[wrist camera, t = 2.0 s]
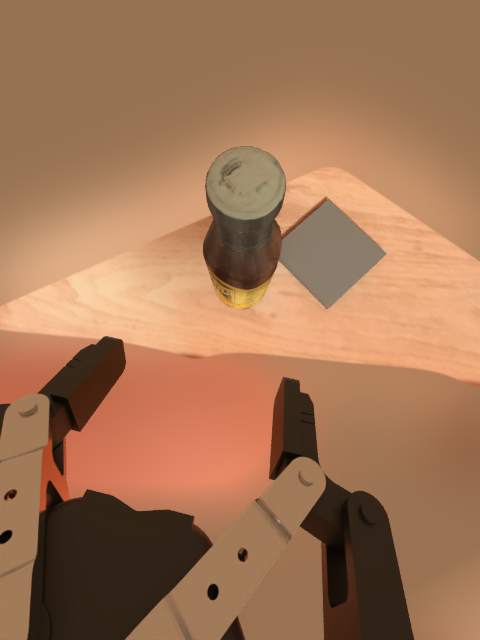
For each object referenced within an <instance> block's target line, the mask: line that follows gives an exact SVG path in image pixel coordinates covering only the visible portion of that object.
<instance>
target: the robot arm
mask: <svg viewBox="0 0 480 640" xmlns="http://www.w3.org/2000/svg"><path fill="white" fill-rule="evenodd" d="M125 365H126V359H125V352H124V346H123V341H122V340H121V339H117V338H112V337H108V336H105V337H103V338H102V339H101V340H100V341H99V342H98V343H97V344H96V345H93V344H91V345H89V346H88V347H86V348H84V349H82V350H80V351H79V352H78V353H77V354H76V355H75V356H74V357H73V359H72V360H70V361H69V362H68V363H67V364H66V367H63V368H62V369H61V370H60V372H58V373H57V374H56V375H55V376H54V377H53V378H52V379H51V380H50V381H49V382H48V383H47V384H46V385H45V386H44V387H43V389H41V390H40V391H39V392H38V393H37V394H30V395H26V396H24V397H21V398H19V399H18V400H16V401H14V402H13V403H12V404H0V640H245V637H244V634H243V631H242V628H241V625H240V622H239V619H238V614H239V612H240V611H241V609H242V608H243V607H244V605H245V603H246V602H247V601H248V599H249V598H250V597H251V595H252V594H253V592H254V591H255V590H256V588H257V587H258V585H259V584H260V582H261V581H262V580H263V578H264V577H265V575H266V574H267V572H268V571H269V569H270V568H271V567H272V565H273V564H274V563H275V561H276V560H277V558H278V557H279V555H280V554H281V552H282V551H283V549H284V548H285V547H286V545H287V544H288V542H289V541H290V539H291V537H292V536H293V534H294V533H295V531H296V530H297V529H298V527H299V526H300V527H302V528H303V529H304V530H306V531H307V532H309V533H310V534H312V535H313V536H314V537H316V538H317V539H319V540H320V541H321V549H322V584H323V615H324V616H323V618H324V640H414V637H413V633H412V628H411V623H410V618H409V614H408V609H407V604H406V599H405V595H404V590H403V585H402V580H401V576H400V571H399V566H398V562H397V557H396V552H395V548H394V542H393V538H392V533H391V528H390V523H389V519H388V516H387V513H386V511H385V510H384V507H383V506H382V505H381V503H380V502H379V501H378V500H377V499H376V498H375V497H374V496H372V495H371V494H369V493H367V492H364V491H356V492H354V493H350V492H349V491H347V490H345V489H344V488H342V487H340V486H339V485H337V484H335V483H334V482H332V481H331V480H330V479H329V478H328V477H327V476H326V475H325V473H324V472H323V470H322V469H321V467H320V464H319V461H318V453H317V441H316V430H315V419H314V418H315V417H314V406H313V403H312V401H311V399H310V397H309V395H308V394H305V393H301V392H300V383H299V380H295V379H290V378H286V377H283V379H282V381H281V384H280V387H279V389H278V392H277V395H276V398H275V402H274V409H273V426H272V440H271V456H270V457H271V458H270V472H269V479H272V480H275V481H274V482H273V483H272V484H271V485H270V486H269V488H268V489H267V490H266V491H265V492H264V493H263V494H262V495H261V496H260V498H258V499H256V500H254V501H253V502H252V503H251V504H250V505H249V506H248V507H247V509H246V510H245V511H244V512H243V513H242V514H241V515H240V516H239V517H238V518H237V520H236V521H235V522H234V523H233V524H232V525H231V526H230V527H229V528H228V529H227V531H226V532H225V533H224V534H223V535H222V536H221V537H220V538H219V540H217V542H216V543H215V544H214V545H213V544H212V542H211V540H210V539H209V537H208V536H207V535H206V534H205V532H204V531H202V530H201V529H200V528H199V527H198V526H196V525H195V524H193V523H194V516H190V515H187V514H183V513H179V512H175V511H171V510H153V511H135V510H133V509H132V508H131V507H129V506H128V505H126V504H125V503H123V502H122V501H120V500H119V499H117V498H115V497H114V496H111V495H108V494H104V493H100V492H96V491H92V490H88V489H87V491H86V492H85V494H84V496H83V497H79V498H74V499H70V493H69V488H68V483H67V456H66V435H67V434H68V432H69V431H70V430H75V431H79V432H80V431H81V430H82V429H83V427H84V426H85V424H86V423H87V422H88V420H89V419H90V417H91V416H92V415H93V413H94V412H95V411H96V409H97V408H98V406H99V405H100V404H101V402H102V401H103V400H104V398H105V397H106V395H107V394H108V393H109V391H110V390H111V388H112V387H113V386H114V384H115V383H116V381H117V380H118V379H119V377H120V376H121V375H122V373H123V371H124V369H125Z"/></svg>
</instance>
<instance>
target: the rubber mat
mask: <svg viewBox="0 0 480 640" xmlns="http://www.w3.org/2000/svg"><path fill="white" fill-rule="evenodd" d="M386 254H387V253H385V252H384V251H383V250H382V249H381V248H380V247H379V246H378V245H377V244H376V243H375V242H374V241H373V240H372V239H370V238H369V237H368V236H367V235H366V234H365V233H364V232H363V231H362V230H361V229H360V228H359V227H358V226H357V225H355V224H354V223H353V222H352V221H351V220H350V219H349V218H348V217H347V216H346V215H345V214H344V213H343V212H342V211H341V210H339V209H338V208H337V207H336V206H335V205H334V204H333V203H332V202H331V201H330V200H329V199H328V200H327V201H326V202H325V203H324V204H323V205H321V206H320V207H319V208H318V209H317V210H316V211H314V212H313V213H312V214H311V215H310V216H309V217H308V218H306V219H305V220H304V221H303V222H302V223H301V224H300V225H298V226H297V227H296V228H295V229H294V230H293V231H292V232H290V233H289V234H288V235H287V236H286V237H285V238H284V239H282V247H281V254H280V257H279V261H280V262H281V263H282V264H283V265H284V266H285V267H286V268H287V269H288V270H289V271H290V272H291V273H292V274H293V275H294V276H295V277H296V278H297V279H298V280H299V281H300V282H301V283H302V284H303V285H304V286H305V287H306V288H307V289H308V290H309V291H310V293H311V294H312V295H313V296H314V297H315V298H316V299H317V300H318V301H319V302H320V303H321V304H322V305H323V306H324V307H325V308H326V309H328V308H329V307H331V306H332V305H333V304H334V303H335V302H336V301H337V300H338V299H339V298H340V297H341V296H342V295H343V294H344V293H346V292H347V291H348V290H349V289H350V288H351V287H352V286H353V285H354V284H355V283H356V282H357V281H358V280H359V279H360V278H362V277H363V276H364V275H365V274H366V273H367V272H368V271H369V270H370V269H371V268H372V267H373V266H374V265H375V264H376V263H377V262H379V261H380V260H381V259H382V258H383V257H384V256H385V255H386Z"/></svg>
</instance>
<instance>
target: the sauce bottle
mask: <svg viewBox="0 0 480 640" xmlns="http://www.w3.org/2000/svg"><path fill="white" fill-rule="evenodd" d="M205 188H206V196H207V203H208V207H209V210H210V212H211V214H212V215H213V218H214V219H213V222H212V224H211V226H210V228H209V230H208V232H207V235H206V237H205V239H204V243H203V254H204V258H205V261H206V265H207V267H208V270H209V273H210V276H211V279H212V282H213V285H214V288H215V291H216V293H217V295H218V297H219V298H220V300H221V301H222V302H223V303H225V304H226V305H227V306H229V307H232V308H236V309H247V308H250V307H252V306H254V305H256V304H257V303H258V302H259V301H260V300H261V299H262V297H263V296H264V294H265V292H266V289H267V287H268V285H269V283H270V281H271V278H272V276H273V274H274V272H275V270H276V267H277V263H278V260H279V257H280V254H281V247H282V237H281V231H280V227H279V225H278V224H277V222H276V220H275V218H276V217H277V215H278V214H279V212H280V210H281V208H282V204H283V200H284V196H285V190H286V179H285V175H284V172H283V170H282V168H281V166H280V164H279V162H278V161H277V160H276V159H275V158H274V157H273V156H272V155H271V154H270V153H268V152H266V151H262V150H260V149H258V148H255V147H252V146H242V147H235V148H232V149H229V150H227V151H225V152H223V153H222V154H221V155H219V156H218V157H217V158H216V160H215V161H214V162H213V163H212V165H211V167H210V169H209V171H208V172H207V176H206V185H205Z"/></svg>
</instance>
